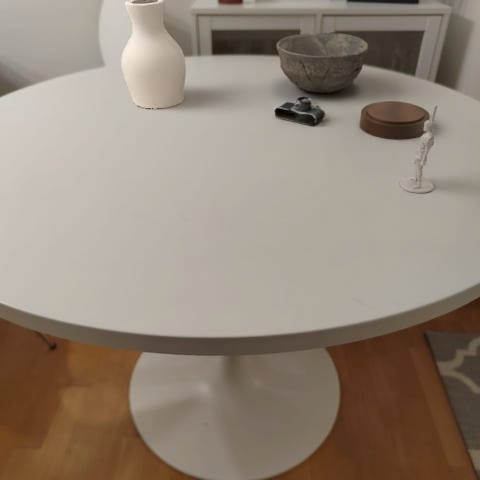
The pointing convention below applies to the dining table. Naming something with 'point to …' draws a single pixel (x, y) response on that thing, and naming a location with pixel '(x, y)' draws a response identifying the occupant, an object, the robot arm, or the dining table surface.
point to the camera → (300, 111)
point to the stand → (393, 120)
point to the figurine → (421, 161)
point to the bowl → (321, 60)
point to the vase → (152, 58)
